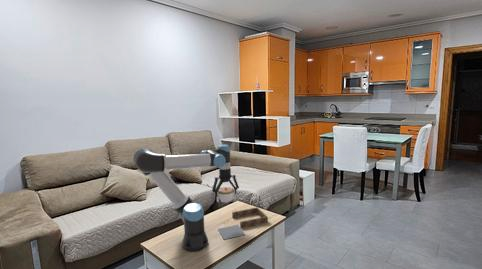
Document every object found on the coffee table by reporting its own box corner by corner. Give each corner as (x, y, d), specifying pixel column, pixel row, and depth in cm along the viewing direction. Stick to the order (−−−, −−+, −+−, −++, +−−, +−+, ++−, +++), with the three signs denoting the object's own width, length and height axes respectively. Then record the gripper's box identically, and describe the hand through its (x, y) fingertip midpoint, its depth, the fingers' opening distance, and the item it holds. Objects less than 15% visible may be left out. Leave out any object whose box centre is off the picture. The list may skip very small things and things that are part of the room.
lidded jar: (233, 203, 175) (233, 190, 174) (217, 204, 176) (216, 190, 174) (234, 197, 186) (234, 184, 185) (218, 198, 186) (218, 184, 185)
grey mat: (223, 239, 164) (223, 239, 164) (217, 229, 177) (217, 228, 177) (245, 235, 169) (245, 234, 169) (237, 225, 182) (237, 224, 182)
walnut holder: (240, 228, 177) (240, 222, 177) (232, 217, 194) (232, 212, 193) (267, 222, 184) (267, 216, 184) (257, 212, 200) (257, 207, 200)
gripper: (209, 171, 170) (210, 205, 173) (243, 167, 178) (244, 199, 181) (206, 168, 177) (207, 200, 180) (239, 164, 185) (240, 195, 188)
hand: (226, 200), depth 181 cm, fingers closed on lidded jar, 11 cm apart
